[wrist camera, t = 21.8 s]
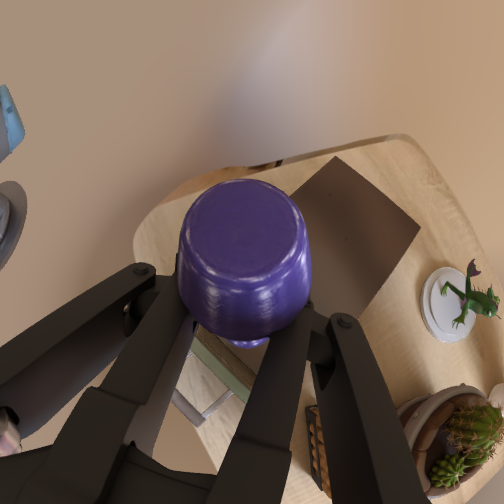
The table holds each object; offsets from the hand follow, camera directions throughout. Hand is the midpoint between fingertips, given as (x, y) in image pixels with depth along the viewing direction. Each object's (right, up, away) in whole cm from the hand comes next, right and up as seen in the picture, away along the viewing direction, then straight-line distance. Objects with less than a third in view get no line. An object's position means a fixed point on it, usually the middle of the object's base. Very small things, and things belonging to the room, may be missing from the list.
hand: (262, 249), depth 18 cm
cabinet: (+9, -2, +21) cm, 23 cm away
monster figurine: (+30, -8, +19) cm, 36 cm away
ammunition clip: (+7, -24, +12) cm, 28 cm away
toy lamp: (-1, -6, +4) cm, 7 cm away
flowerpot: (+22, -26, +12) cm, 35 cm away
